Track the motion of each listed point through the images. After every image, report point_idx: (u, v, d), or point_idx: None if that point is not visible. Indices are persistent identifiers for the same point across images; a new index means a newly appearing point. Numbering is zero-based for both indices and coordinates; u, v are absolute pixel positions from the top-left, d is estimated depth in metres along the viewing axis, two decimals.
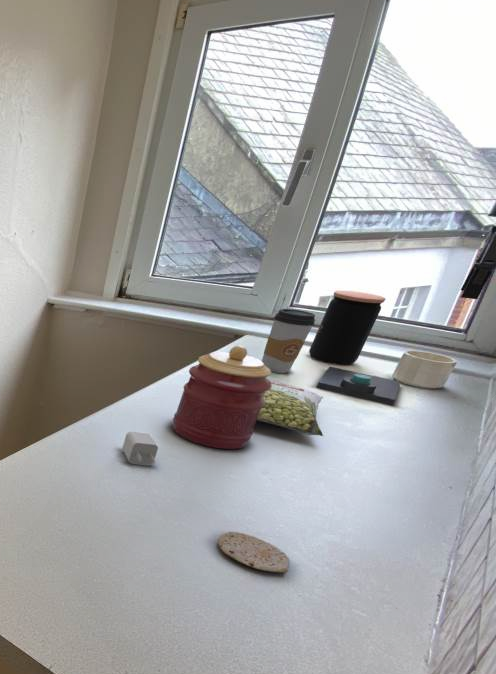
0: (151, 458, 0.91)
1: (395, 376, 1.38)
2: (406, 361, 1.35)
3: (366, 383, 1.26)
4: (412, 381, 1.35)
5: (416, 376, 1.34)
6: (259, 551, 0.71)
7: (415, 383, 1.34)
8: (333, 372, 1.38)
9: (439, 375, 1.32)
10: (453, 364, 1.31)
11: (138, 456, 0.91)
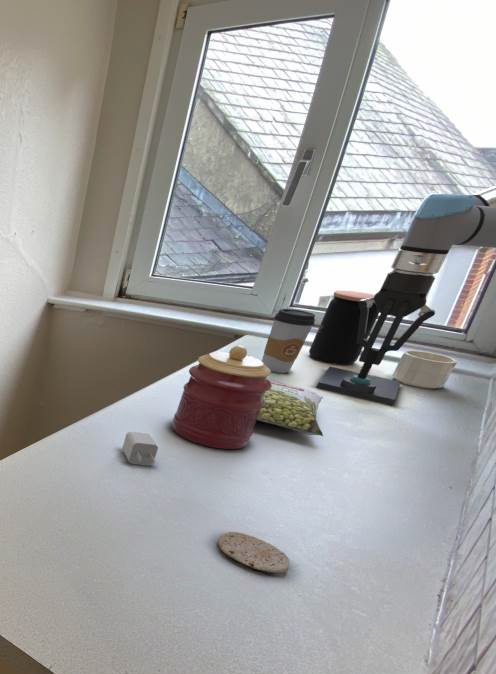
0: (151, 458, 0.91)
1: (395, 376, 1.38)
2: (406, 361, 1.35)
3: (365, 384, 1.26)
4: (412, 381, 1.35)
5: (416, 376, 1.34)
6: (259, 551, 0.71)
7: (415, 383, 1.34)
8: (333, 372, 1.38)
9: (439, 375, 1.32)
10: (453, 364, 1.31)
11: (138, 456, 0.91)
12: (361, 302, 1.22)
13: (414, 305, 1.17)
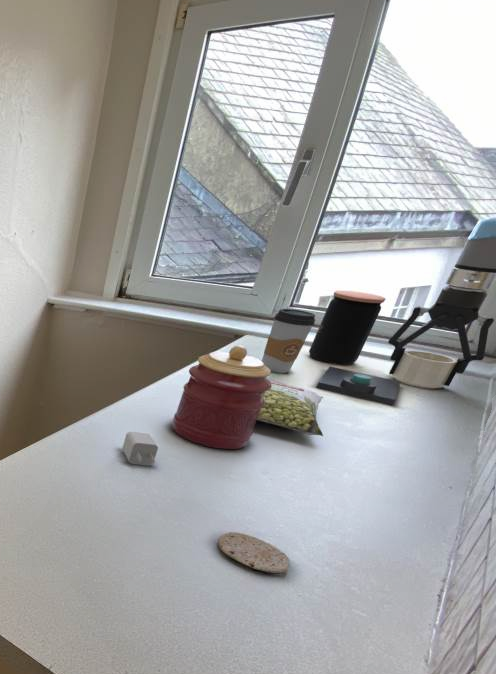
0: (151, 458, 0.91)
1: (395, 376, 1.38)
2: (406, 361, 1.35)
3: (366, 383, 1.26)
4: (412, 381, 1.35)
5: (416, 376, 1.34)
6: (259, 551, 0.71)
7: (415, 383, 1.34)
8: (333, 372, 1.38)
9: (439, 375, 1.32)
10: (453, 364, 1.31)
11: (138, 456, 0.91)
12: (417, 309, 1.33)
13: (467, 318, 1.28)
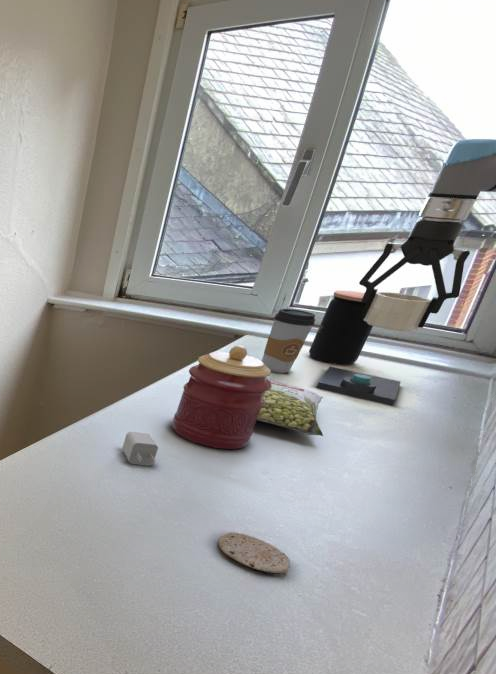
0: (151, 458, 0.91)
1: (366, 319, 1.29)
2: (378, 302, 1.26)
3: (366, 383, 1.26)
4: (384, 323, 1.26)
5: (388, 317, 1.25)
6: (259, 552, 0.71)
7: (387, 325, 1.25)
8: (333, 372, 1.38)
9: (412, 315, 1.23)
10: (427, 303, 1.22)
11: (138, 456, 0.91)
12: (389, 245, 1.24)
13: (442, 252, 1.19)
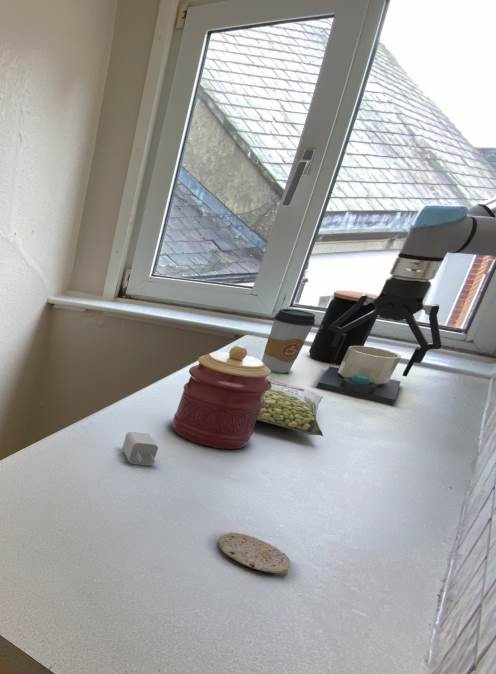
0: (151, 458, 0.91)
1: (340, 372, 1.35)
2: (350, 357, 1.32)
3: (366, 383, 1.26)
4: None
5: (360, 372, 1.30)
6: (260, 552, 0.71)
7: None
8: (333, 372, 1.38)
9: (382, 370, 1.28)
10: (396, 359, 1.27)
11: (138, 456, 0.91)
12: (363, 297, 1.29)
13: (412, 309, 1.24)
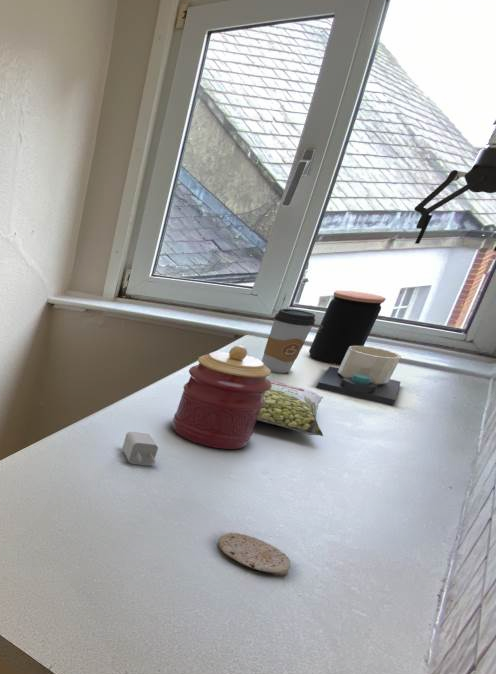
0: (151, 458, 0.91)
1: (340, 372, 1.35)
2: (350, 357, 1.32)
3: (366, 383, 1.26)
4: None
5: (360, 372, 1.30)
6: (260, 552, 0.71)
7: None
8: (333, 372, 1.38)
9: (382, 370, 1.28)
10: (396, 359, 1.27)
11: (138, 456, 0.91)
12: (454, 171, 1.27)
13: None
